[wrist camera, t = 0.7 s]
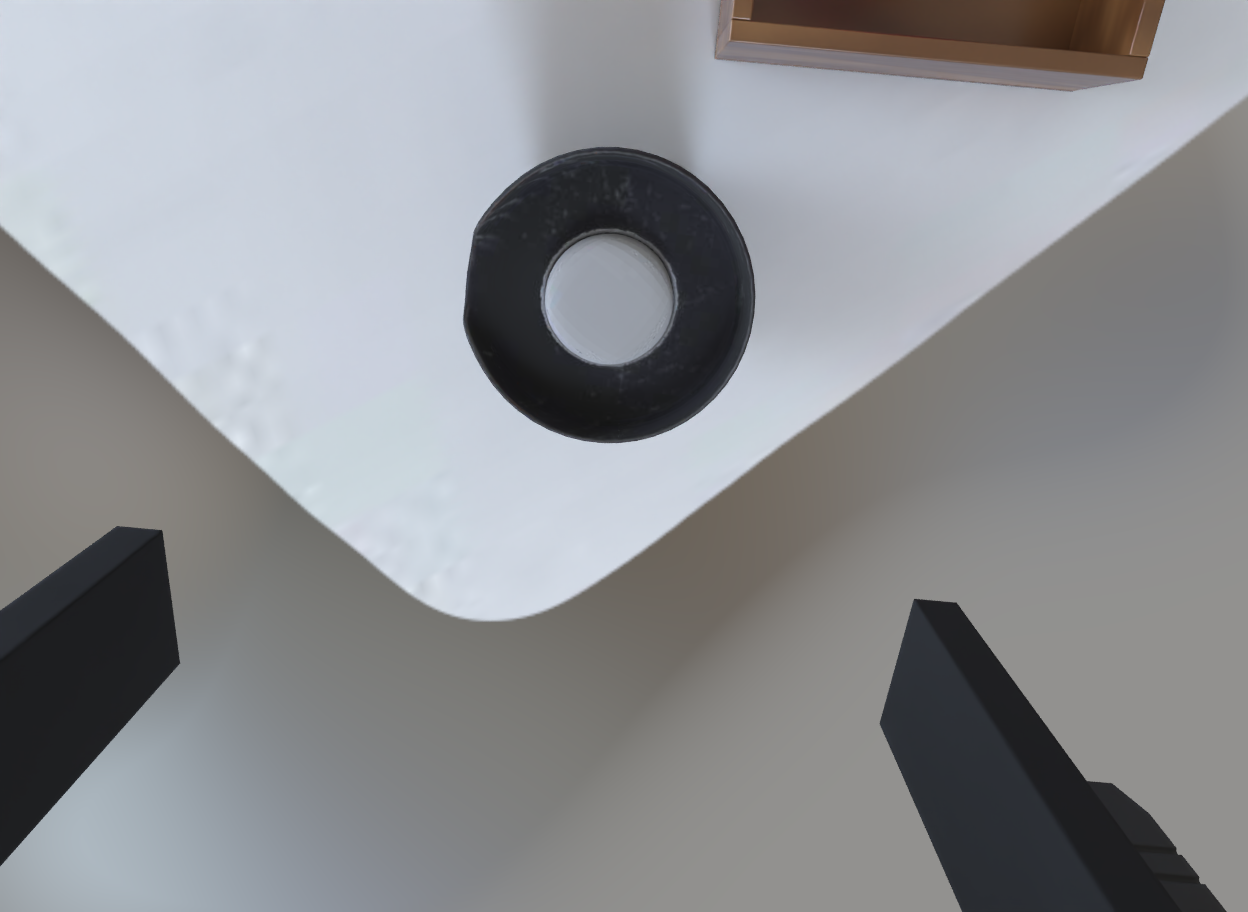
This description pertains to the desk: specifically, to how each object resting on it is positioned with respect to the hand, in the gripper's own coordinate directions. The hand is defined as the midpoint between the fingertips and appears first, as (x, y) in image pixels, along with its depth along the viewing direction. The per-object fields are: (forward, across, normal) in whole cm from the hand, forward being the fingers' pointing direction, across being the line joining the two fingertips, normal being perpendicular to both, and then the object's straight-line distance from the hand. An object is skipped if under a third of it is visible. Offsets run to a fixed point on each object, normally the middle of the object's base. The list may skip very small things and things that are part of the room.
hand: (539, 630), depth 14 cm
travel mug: (+28, +1, +4) cm, 28 cm away
